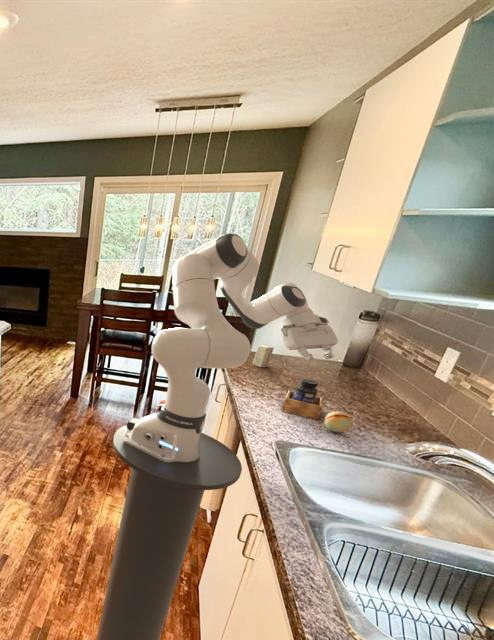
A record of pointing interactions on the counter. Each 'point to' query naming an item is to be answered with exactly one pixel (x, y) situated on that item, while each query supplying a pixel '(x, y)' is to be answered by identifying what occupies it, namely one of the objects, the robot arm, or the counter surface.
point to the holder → (303, 406)
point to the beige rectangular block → (263, 355)
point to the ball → (338, 422)
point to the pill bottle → (306, 391)
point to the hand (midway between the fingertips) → (320, 358)
